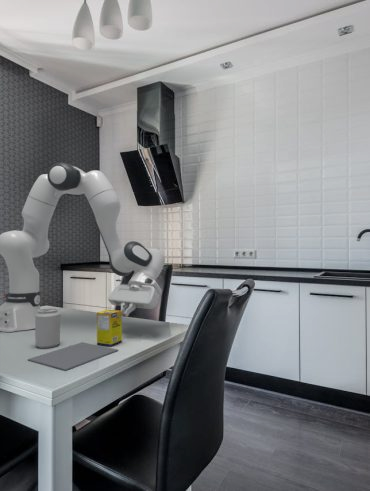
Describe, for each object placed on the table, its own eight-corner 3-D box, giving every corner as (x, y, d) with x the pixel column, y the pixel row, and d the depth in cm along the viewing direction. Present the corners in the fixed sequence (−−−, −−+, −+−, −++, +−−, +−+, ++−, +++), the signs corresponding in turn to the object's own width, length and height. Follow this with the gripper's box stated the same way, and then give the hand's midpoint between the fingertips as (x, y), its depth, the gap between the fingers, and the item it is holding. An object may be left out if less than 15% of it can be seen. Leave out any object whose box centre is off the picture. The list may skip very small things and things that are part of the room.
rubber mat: (82, 343, 113) (82, 342, 113) (118, 350, 105) (118, 349, 105) (27, 360, 96) (27, 359, 96) (65, 371, 88) (65, 369, 88)
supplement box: (122, 342, 114) (122, 310, 114) (110, 347, 109) (110, 313, 109) (108, 340, 117) (108, 308, 117) (96, 344, 111) (96, 311, 111)
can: (46, 341, 115) (46, 306, 115) (64, 343, 113) (64, 307, 113) (30, 348, 108) (30, 310, 108) (49, 350, 106) (49, 311, 106)
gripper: (115, 278, 131) (97, 307, 122) (158, 280, 120) (141, 312, 112) (123, 288, 134) (106, 317, 126) (165, 291, 124) (149, 323, 115)
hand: (123, 315), depth 119 cm, fingers closed
